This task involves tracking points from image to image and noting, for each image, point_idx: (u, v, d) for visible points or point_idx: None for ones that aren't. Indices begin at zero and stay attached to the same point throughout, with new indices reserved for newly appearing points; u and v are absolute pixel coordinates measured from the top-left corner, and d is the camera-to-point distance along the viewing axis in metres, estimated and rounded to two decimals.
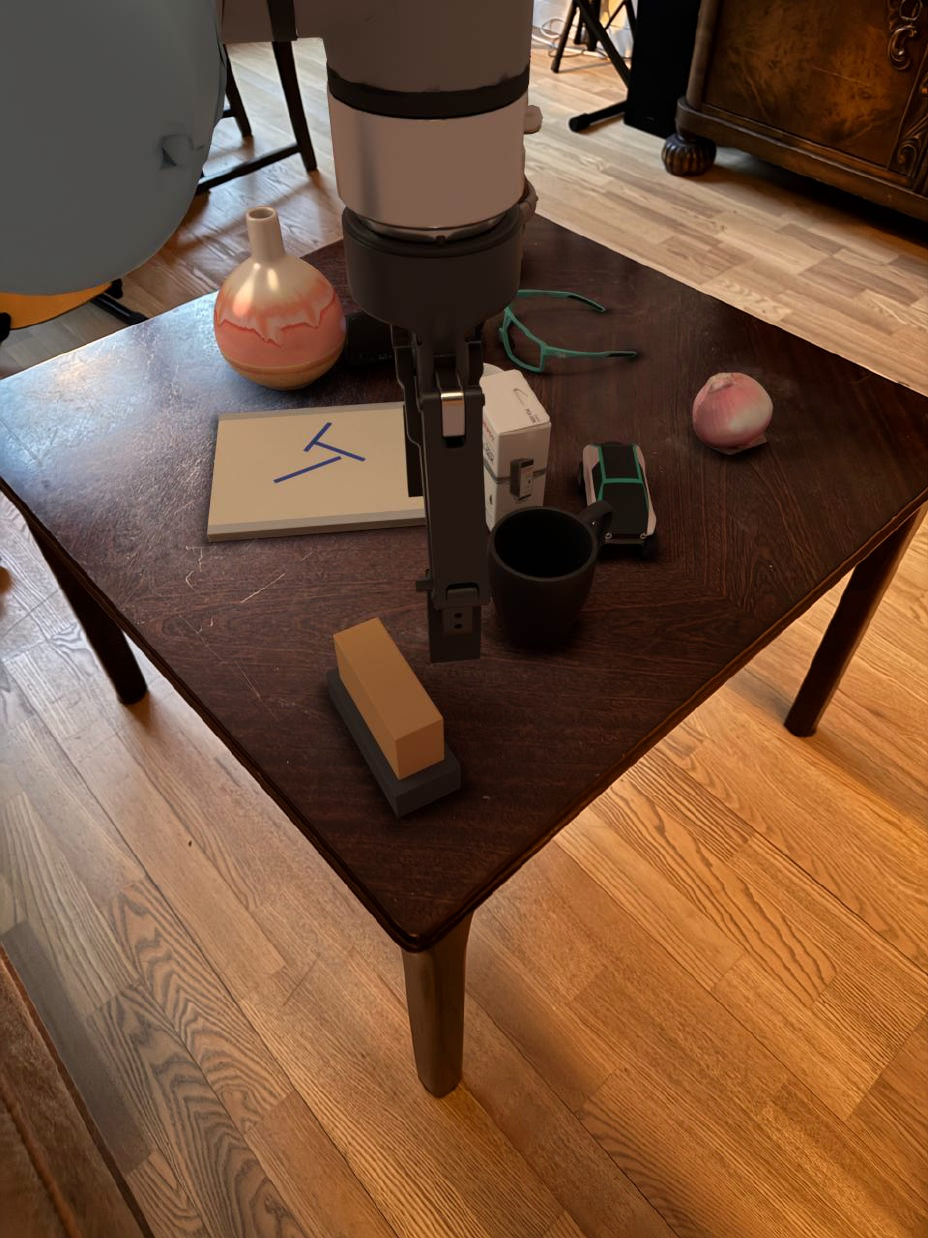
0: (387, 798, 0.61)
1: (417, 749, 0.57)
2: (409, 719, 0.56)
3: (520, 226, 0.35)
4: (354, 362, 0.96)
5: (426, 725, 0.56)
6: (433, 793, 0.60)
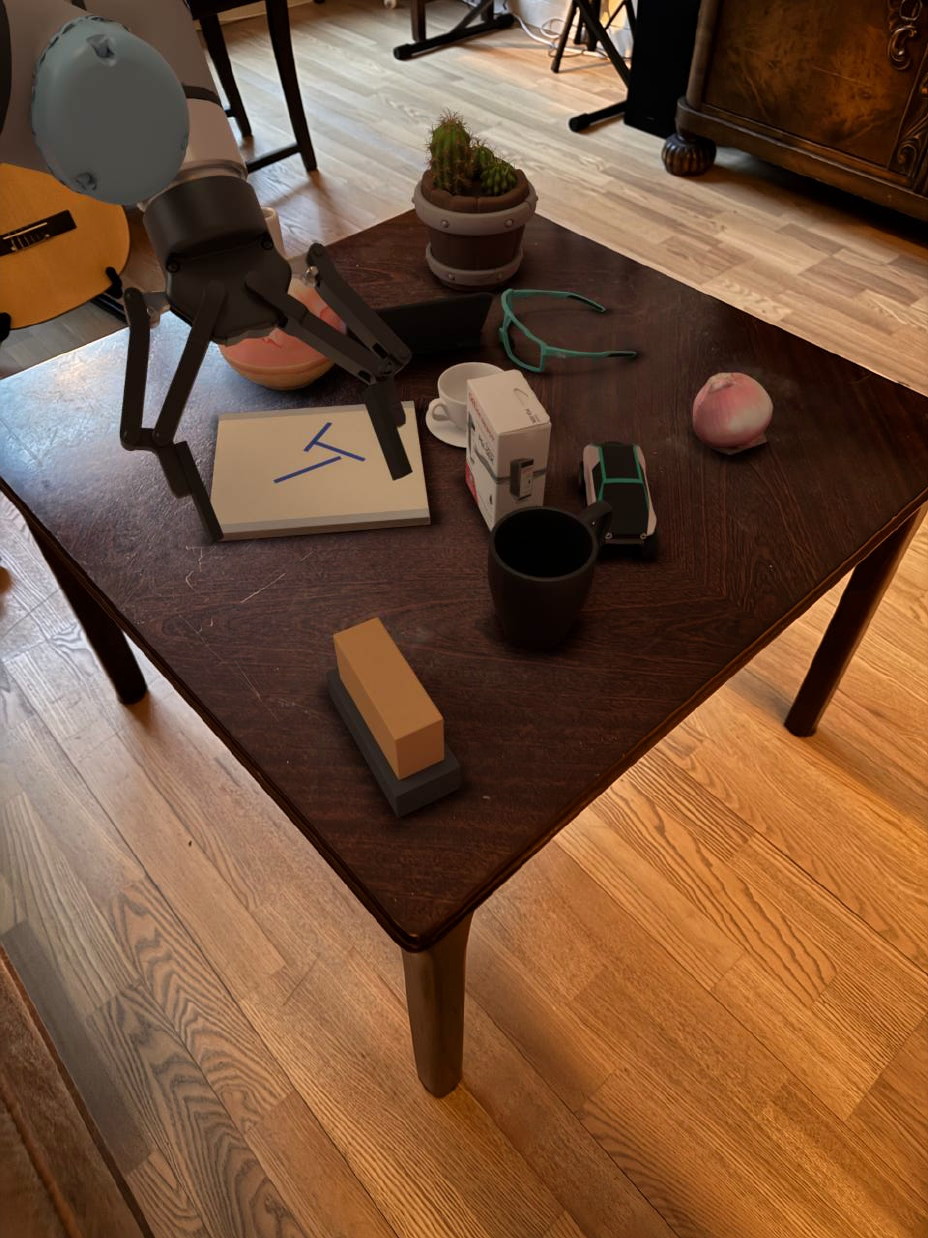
0: (387, 798, 0.61)
1: (417, 749, 0.57)
2: (409, 719, 0.56)
3: None
4: None
5: (426, 725, 0.56)
6: (433, 793, 0.60)
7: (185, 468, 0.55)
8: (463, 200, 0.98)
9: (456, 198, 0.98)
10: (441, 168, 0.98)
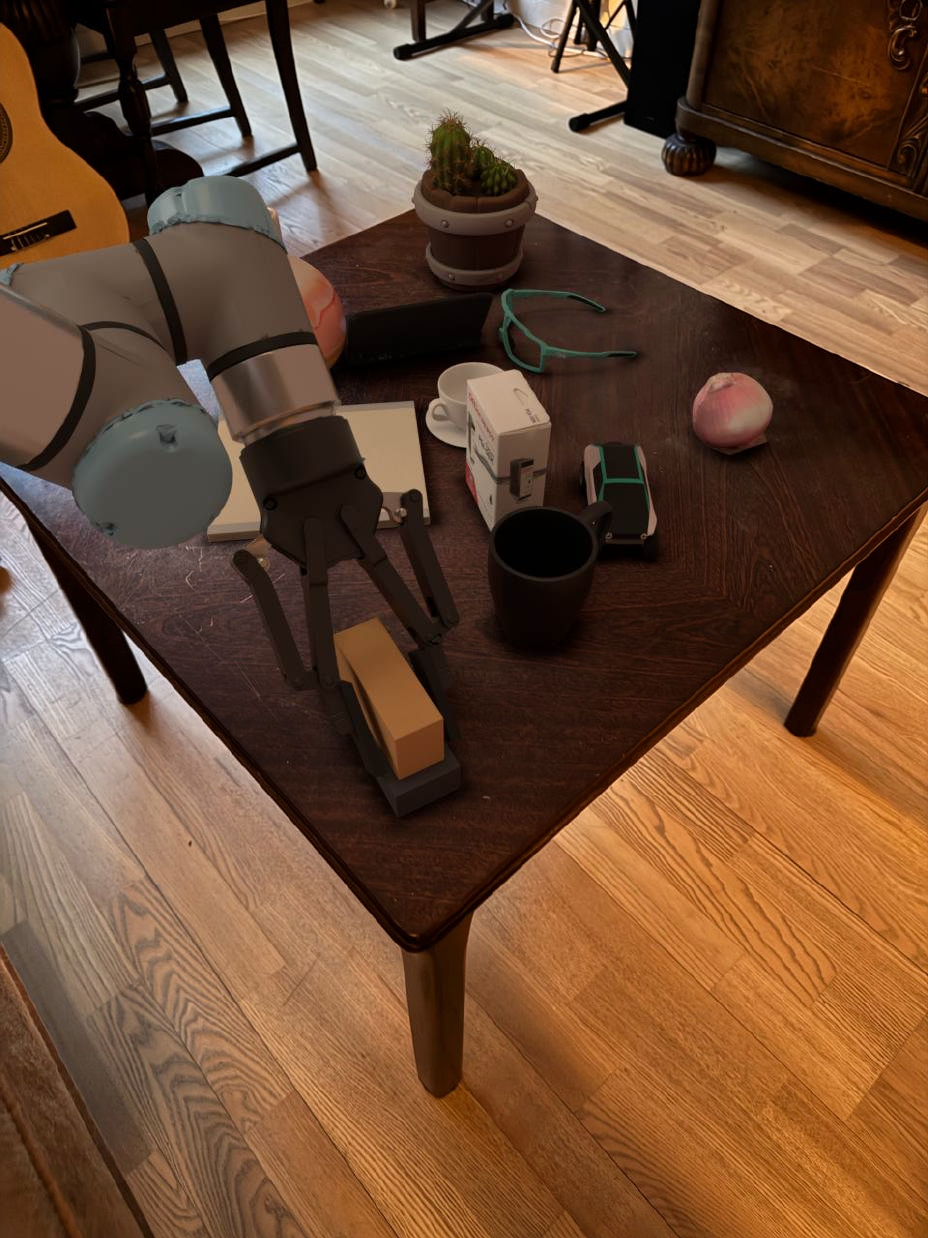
0: (387, 798, 0.61)
1: (417, 749, 0.57)
2: (409, 719, 0.56)
3: None
4: (354, 362, 0.96)
5: (426, 725, 0.56)
6: (433, 793, 0.60)
7: (350, 710, 0.57)
8: (463, 200, 0.98)
9: (456, 198, 0.98)
10: (441, 168, 0.98)
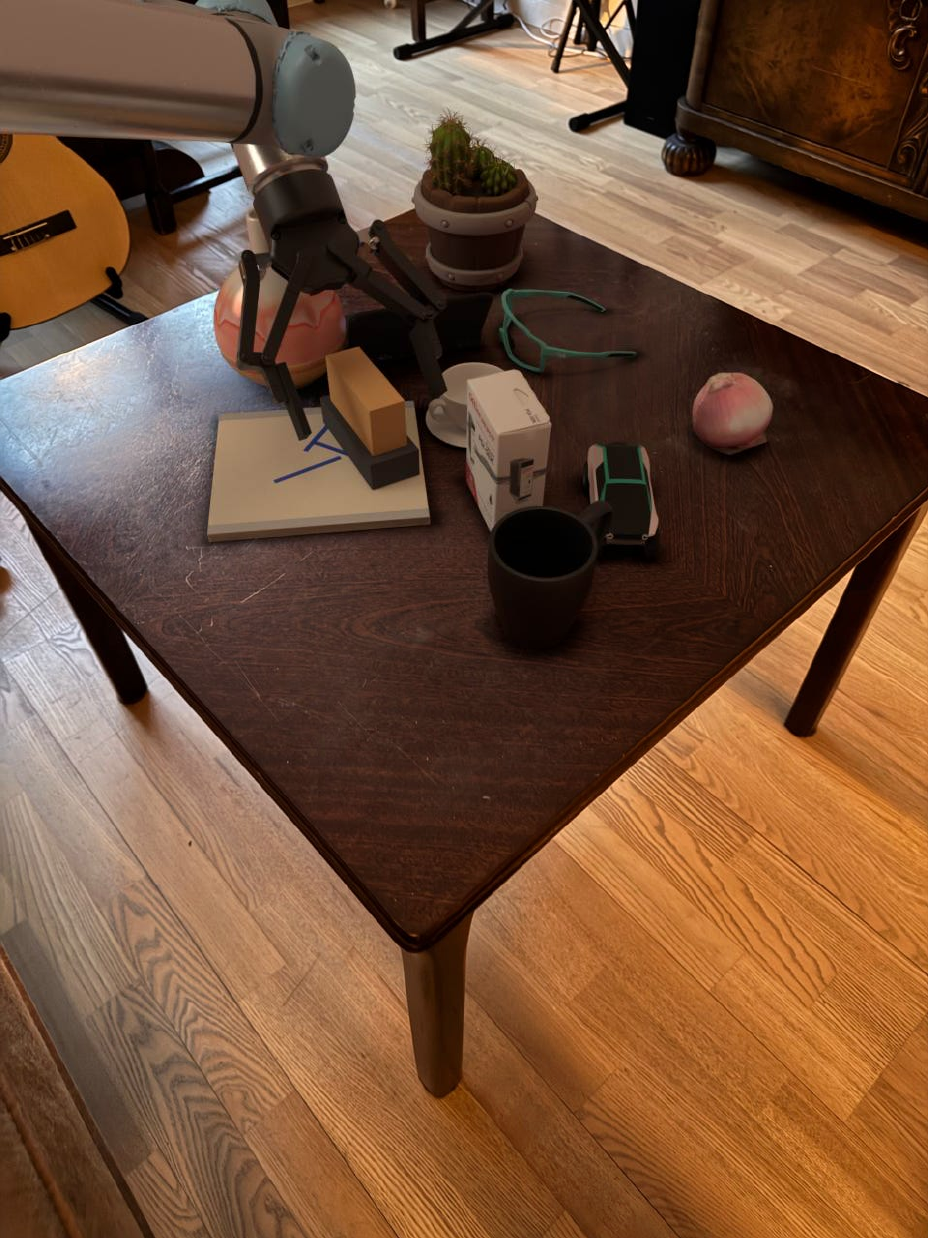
0: (364, 478, 0.82)
1: (386, 427, 0.78)
2: (380, 400, 0.77)
3: None
4: None
5: (392, 403, 0.77)
6: (398, 472, 0.81)
7: (284, 381, 0.76)
8: (463, 200, 0.98)
9: (456, 198, 0.98)
10: (441, 168, 0.98)
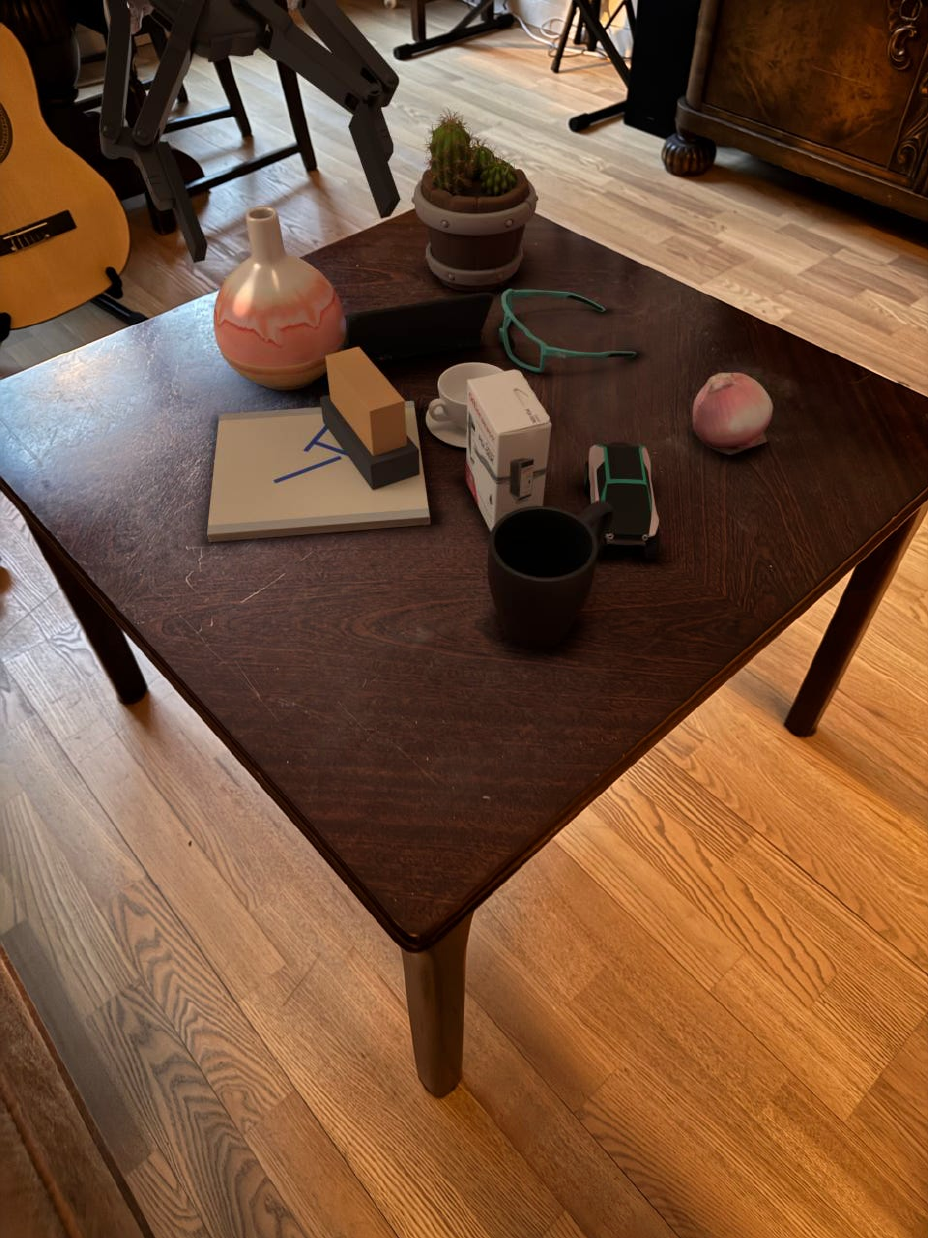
0: (364, 478, 0.82)
1: (386, 427, 0.78)
2: (380, 400, 0.77)
3: None
4: None
5: (392, 403, 0.77)
6: (398, 472, 0.81)
7: (167, 169, 0.54)
8: (463, 200, 0.98)
9: (456, 198, 0.98)
10: (441, 168, 0.98)
